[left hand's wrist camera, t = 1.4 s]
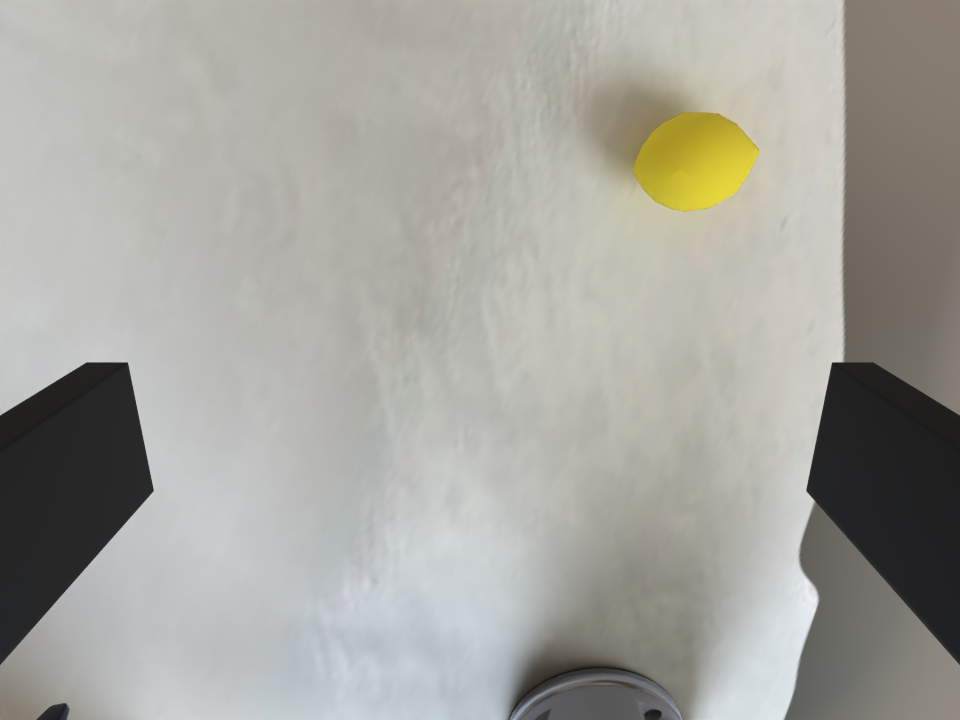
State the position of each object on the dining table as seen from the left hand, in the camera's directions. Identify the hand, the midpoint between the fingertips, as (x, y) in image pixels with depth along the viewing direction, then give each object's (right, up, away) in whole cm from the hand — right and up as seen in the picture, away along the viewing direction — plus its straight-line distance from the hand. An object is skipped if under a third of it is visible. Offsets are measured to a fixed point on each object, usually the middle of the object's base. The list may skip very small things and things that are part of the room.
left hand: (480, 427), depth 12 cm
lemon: (+12, +14, +27) cm, 33 cm away
